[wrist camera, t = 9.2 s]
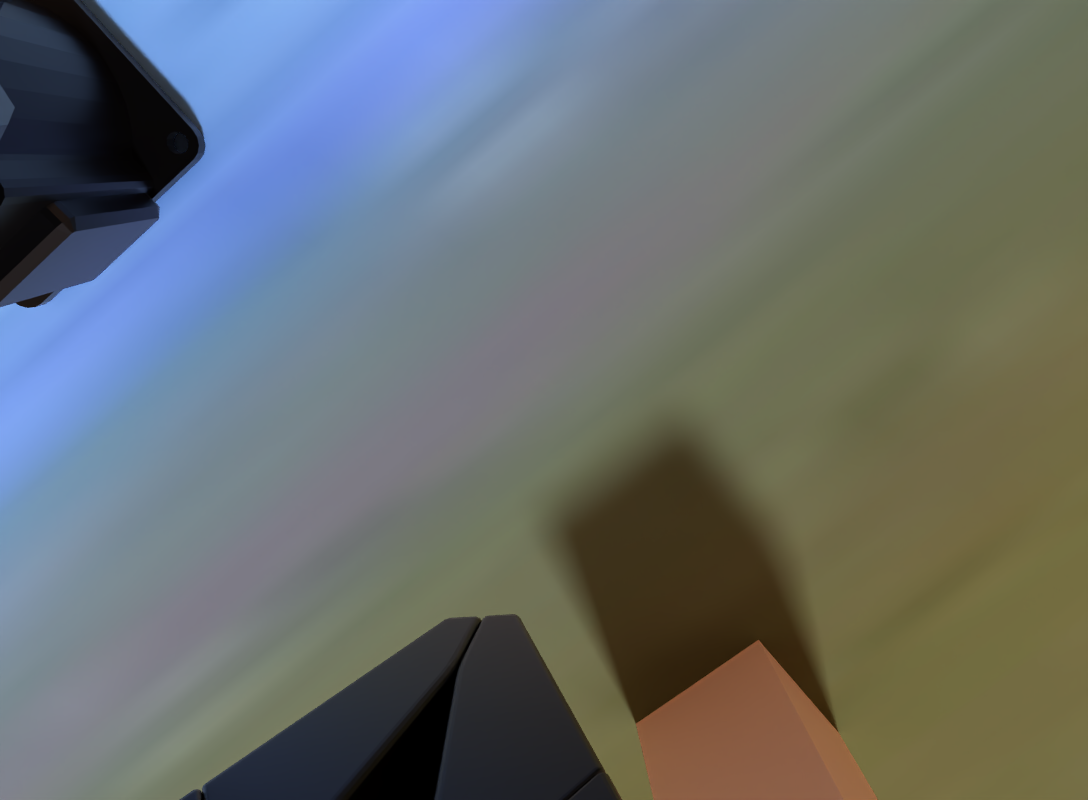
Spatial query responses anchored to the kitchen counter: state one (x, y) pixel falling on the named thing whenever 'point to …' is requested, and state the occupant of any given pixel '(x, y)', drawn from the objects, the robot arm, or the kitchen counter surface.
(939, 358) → the kitchen counter surface
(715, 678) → the terracotta block
